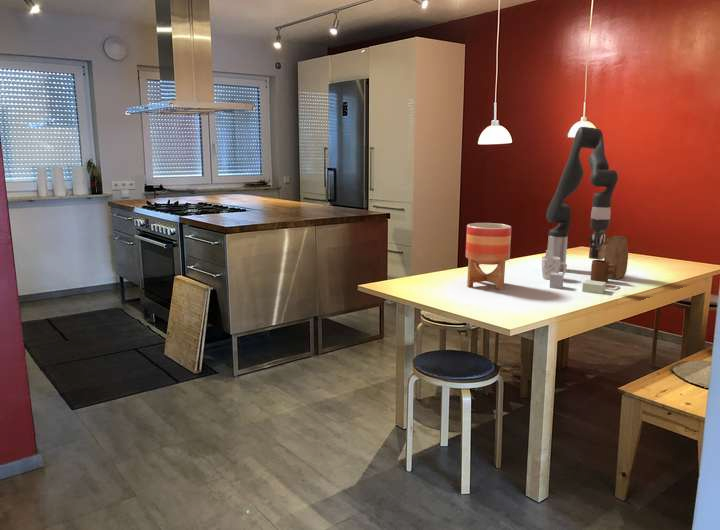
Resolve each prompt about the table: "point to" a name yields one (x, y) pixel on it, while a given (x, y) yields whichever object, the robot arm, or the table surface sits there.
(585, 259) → the table surface
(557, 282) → the grey block
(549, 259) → the mug
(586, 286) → the base block
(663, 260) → the table surface
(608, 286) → the tile
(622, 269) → the brown tall piece
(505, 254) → the planter
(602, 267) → the mug
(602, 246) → the walnut block
